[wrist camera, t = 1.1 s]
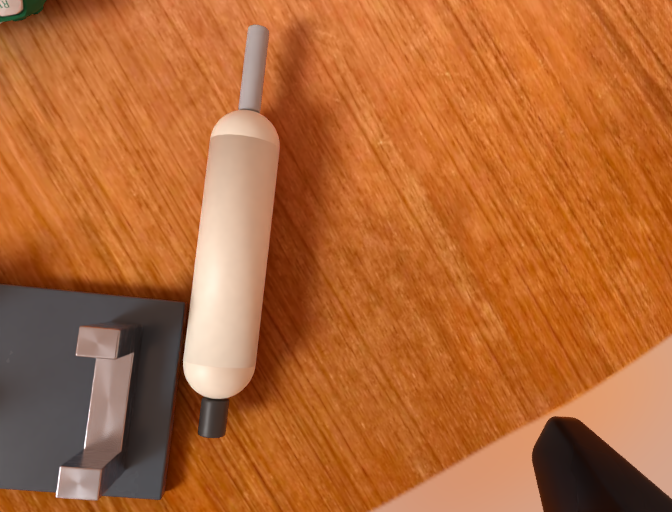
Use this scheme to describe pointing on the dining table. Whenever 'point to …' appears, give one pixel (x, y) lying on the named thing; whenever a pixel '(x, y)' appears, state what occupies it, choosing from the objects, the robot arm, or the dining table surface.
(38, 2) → the gaming controller
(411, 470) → the dining table surface
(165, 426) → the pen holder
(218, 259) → the soldering pen
